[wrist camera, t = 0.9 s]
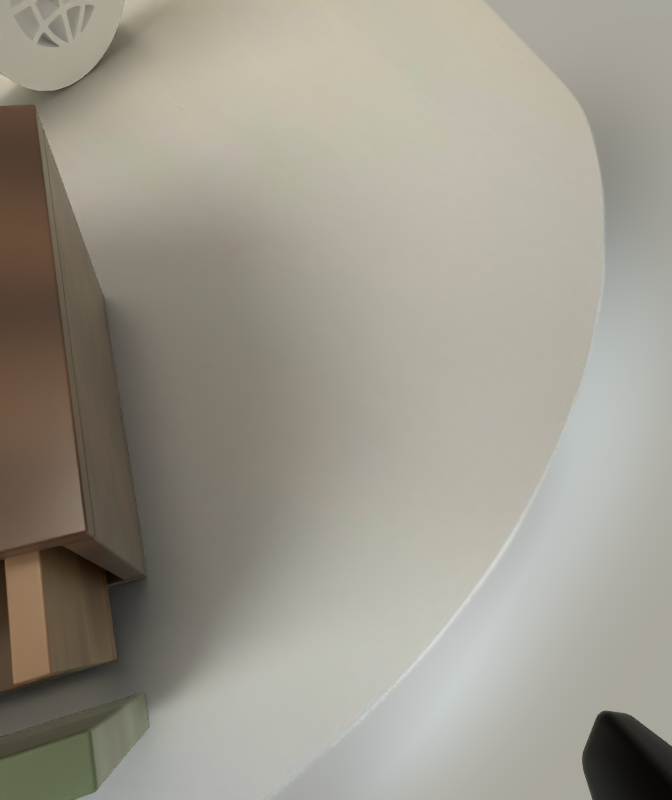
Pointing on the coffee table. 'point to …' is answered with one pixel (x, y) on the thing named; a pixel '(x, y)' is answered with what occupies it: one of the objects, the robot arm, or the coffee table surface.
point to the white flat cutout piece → (54, 39)
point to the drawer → (54, 657)
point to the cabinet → (56, 374)
